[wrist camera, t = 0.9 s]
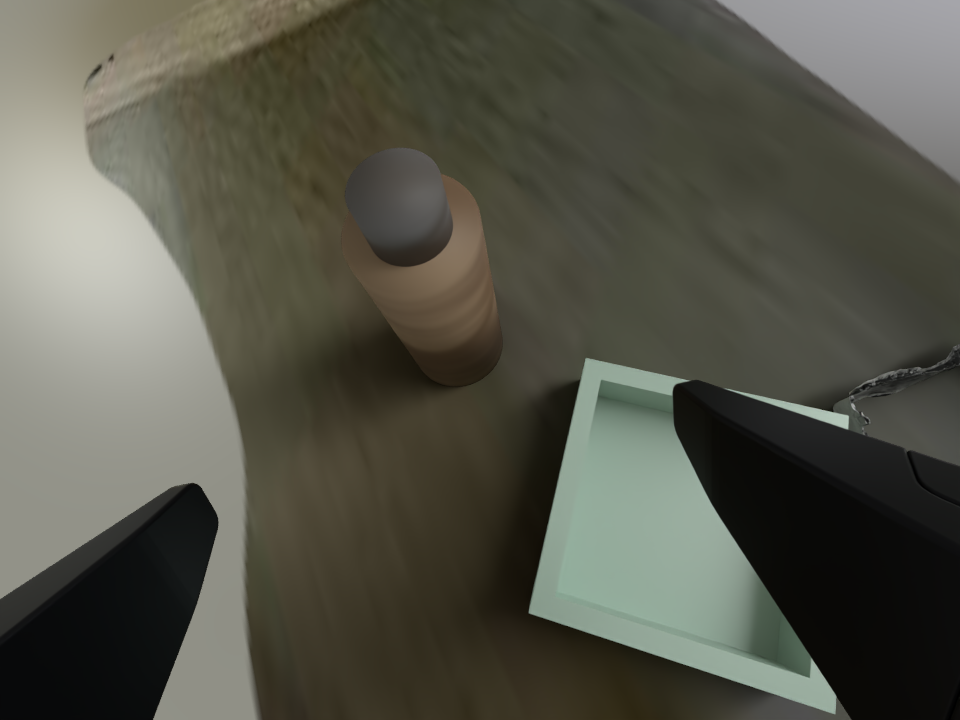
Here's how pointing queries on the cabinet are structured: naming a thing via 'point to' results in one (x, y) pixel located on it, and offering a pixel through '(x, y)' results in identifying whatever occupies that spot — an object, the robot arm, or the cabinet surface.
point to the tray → (660, 545)
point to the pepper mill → (424, 263)
